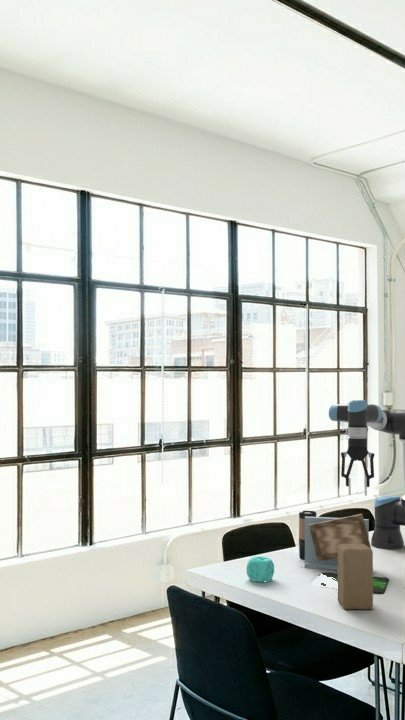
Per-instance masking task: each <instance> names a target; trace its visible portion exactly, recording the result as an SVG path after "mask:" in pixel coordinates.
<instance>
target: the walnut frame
mask: <svg viewBox="0 0 405 720" xmlns="http://www.w3.org/2000/svg"><path fill="white" fill-rule="evenodd" d="M337 518H338V519H334V520H329V521H324V522H319V523H314V524H309V527H310V531H311V535H312V539H313V543H314V548H315V552H316V556H317V560H318V562H319V561H324V560H330V559H335V558H338V545H339V544H365V545H366V546H368V547H369V548H370V549H371V550H372V548H371V547H372V545H371V542H370V539H368V535H367V531H366V527H365V523H364V519H365V518H364V515H363V513H359V514H354V515H350V516H344V517H337Z"/></svg>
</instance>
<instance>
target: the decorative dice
mask: <svg viewBox="0 0 405 720" xmlns="http://www.w3.org/2000/svg"><path fill="white" fill-rule="evenodd" d="M274 574H275V564H274V562H273V560H272V559H271V558H269V557H267V556H253V557H251V558H249V560H248V562H247V565H246V575H247V577H248V579H249V580H250V581H251V580H254V581H259V582H258V583H260V582H263V583H265V582H264V581H269V580H270V581H271V580H272V579H273V578H274ZM270 581H269V582H270Z"/></svg>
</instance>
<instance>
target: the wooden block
mask: <svg viewBox="0 0 405 720" xmlns="http://www.w3.org/2000/svg"><path fill="white" fill-rule="evenodd" d="M373 554H374V552H373V550H372V548H371V549H370V548H369V547H368V546H366V545H365V544H339V545H338V569H337V573H338V590H337V602H339V604H340V605H341V607H342V608H343V609H344V610H346V609H370V610H373V608H374V593H373V577H374V574H373V573H374V559H373V558H374V555H373Z"/></svg>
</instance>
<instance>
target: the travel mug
mask: <svg viewBox="0 0 405 720" xmlns="http://www.w3.org/2000/svg"><path fill="white" fill-rule="evenodd" d="M305 516H306V517H317V511H314V510H303V511H301V512H300V511H298V548H299V549H298V550H299V551H298V552H299V553H298V554H299V555H298V556H299V559H300V560H303V561H305Z"/></svg>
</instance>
